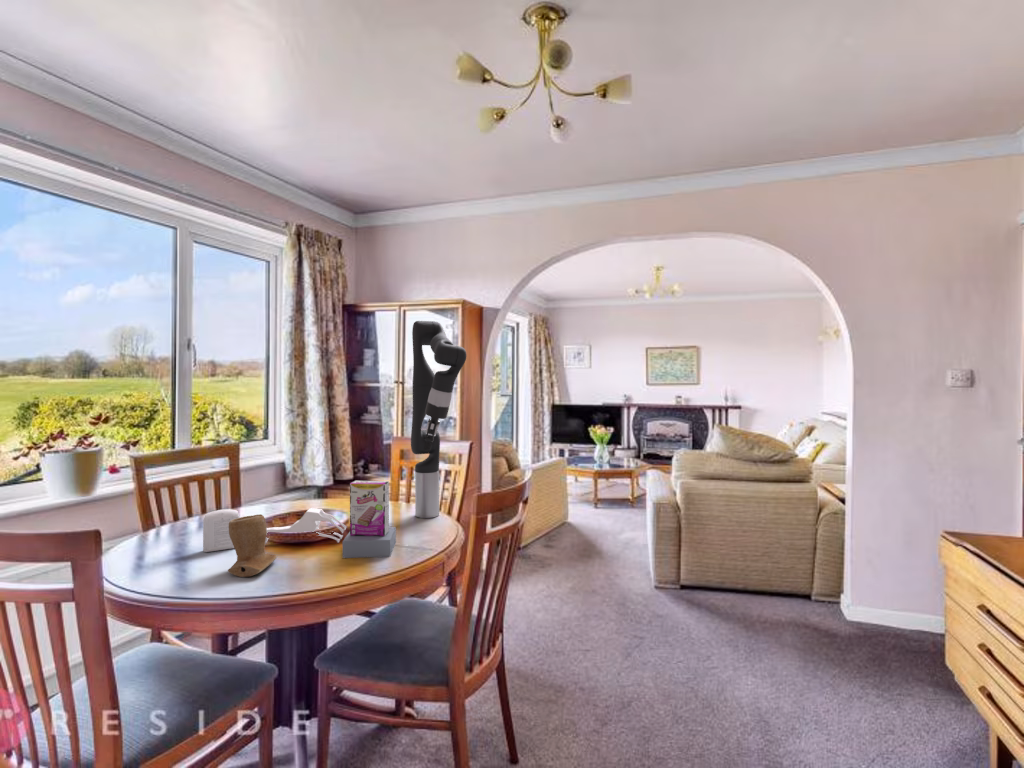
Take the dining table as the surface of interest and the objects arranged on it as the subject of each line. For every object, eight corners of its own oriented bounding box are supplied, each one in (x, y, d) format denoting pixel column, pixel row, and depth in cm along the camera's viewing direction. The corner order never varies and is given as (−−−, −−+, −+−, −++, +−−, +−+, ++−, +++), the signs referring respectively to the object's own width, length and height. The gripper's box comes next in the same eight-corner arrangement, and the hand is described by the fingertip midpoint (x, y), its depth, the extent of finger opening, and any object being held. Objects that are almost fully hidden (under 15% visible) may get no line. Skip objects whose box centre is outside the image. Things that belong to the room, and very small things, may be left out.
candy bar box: (349, 536, 168) (348, 483, 168) (354, 531, 173) (354, 480, 173) (385, 536, 167) (384, 483, 167) (389, 532, 172) (389, 480, 172)
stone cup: (240, 560, 161) (239, 510, 161) (281, 560, 162) (281, 509, 161) (214, 580, 146) (214, 524, 146) (260, 579, 146) (259, 523, 146)
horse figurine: (331, 565, 183) (259, 538, 180) (349, 519, 183) (278, 492, 181) (327, 570, 178) (253, 543, 175) (346, 523, 178) (273, 496, 176)
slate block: (352, 543, 177) (351, 528, 177) (395, 542, 178) (395, 527, 178) (342, 558, 163) (342, 541, 163) (390, 556, 164) (390, 539, 164)
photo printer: (239, 544, 177) (238, 506, 177) (240, 547, 173) (240, 509, 173) (202, 550, 171) (202, 510, 171) (203, 553, 168) (203, 513, 167)
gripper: (430, 395, 190) (419, 438, 193) (425, 404, 176) (414, 451, 179) (451, 400, 191) (440, 443, 193) (448, 410, 177) (436, 456, 179)
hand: (427, 447), depth 186 cm, fingers open, 8 cm apart
